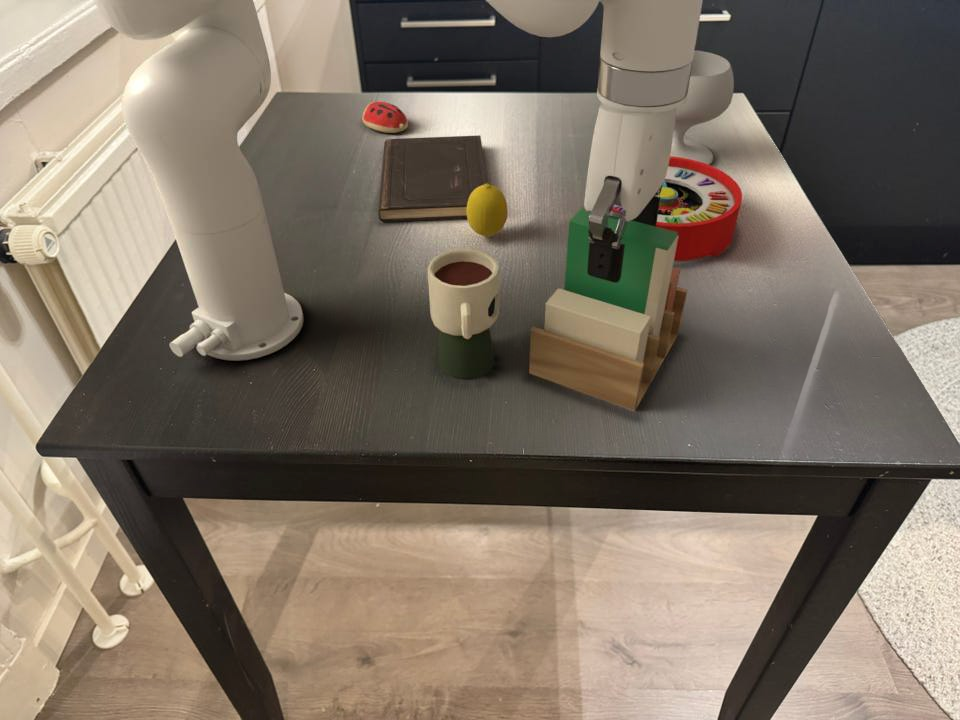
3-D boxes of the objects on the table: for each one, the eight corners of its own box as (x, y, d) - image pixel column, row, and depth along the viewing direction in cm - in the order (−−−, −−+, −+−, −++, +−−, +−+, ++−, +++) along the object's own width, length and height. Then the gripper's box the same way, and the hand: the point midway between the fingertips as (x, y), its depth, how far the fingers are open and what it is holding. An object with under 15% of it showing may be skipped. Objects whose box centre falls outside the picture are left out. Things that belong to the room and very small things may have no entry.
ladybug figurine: (381, 113, 133) (379, 93, 131) (419, 127, 128) (417, 107, 126) (353, 124, 130) (350, 105, 127) (391, 140, 125) (389, 120, 122)
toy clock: (759, 226, 90) (598, 225, 91) (748, 265, 94) (594, 264, 95) (724, 155, 105) (586, 155, 106) (716, 191, 109) (582, 191, 110)
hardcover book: (480, 148, 122) (480, 135, 120) (490, 217, 104) (490, 203, 103) (385, 152, 121) (383, 139, 120) (379, 222, 104) (377, 208, 102)
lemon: (503, 249, 98) (503, 196, 93) (463, 245, 99) (461, 192, 94) (510, 228, 102) (511, 176, 97) (471, 224, 103) (470, 172, 98)
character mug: (503, 397, 76) (504, 297, 68) (435, 401, 76) (428, 301, 68) (494, 332, 85) (494, 236, 76) (433, 336, 84) (426, 239, 76)
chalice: (636, 134, 125) (648, 44, 115) (719, 143, 122) (739, 50, 112) (626, 170, 115) (638, 75, 105) (717, 181, 112) (738, 83, 102)
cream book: (629, 401, 75) (640, 333, 69) (541, 369, 78) (545, 303, 72) (639, 383, 77) (651, 316, 71) (553, 354, 80) (558, 287, 74)
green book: (645, 375, 78) (668, 247, 67) (559, 346, 81) (568, 221, 71) (655, 358, 80) (679, 232, 69) (570, 330, 83) (581, 207, 73)
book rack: (633, 416, 74) (642, 366, 70) (528, 378, 79) (530, 329, 74) (677, 337, 83) (688, 289, 79) (581, 307, 88) (586, 260, 84)
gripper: (636, 42, 68) (618, 205, 79) (559, 108, 57) (550, 287, 68) (716, 53, 65) (686, 221, 76) (651, 125, 54) (626, 310, 65)
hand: (622, 252), depth 72 cm, fingers open, 9 cm apart
